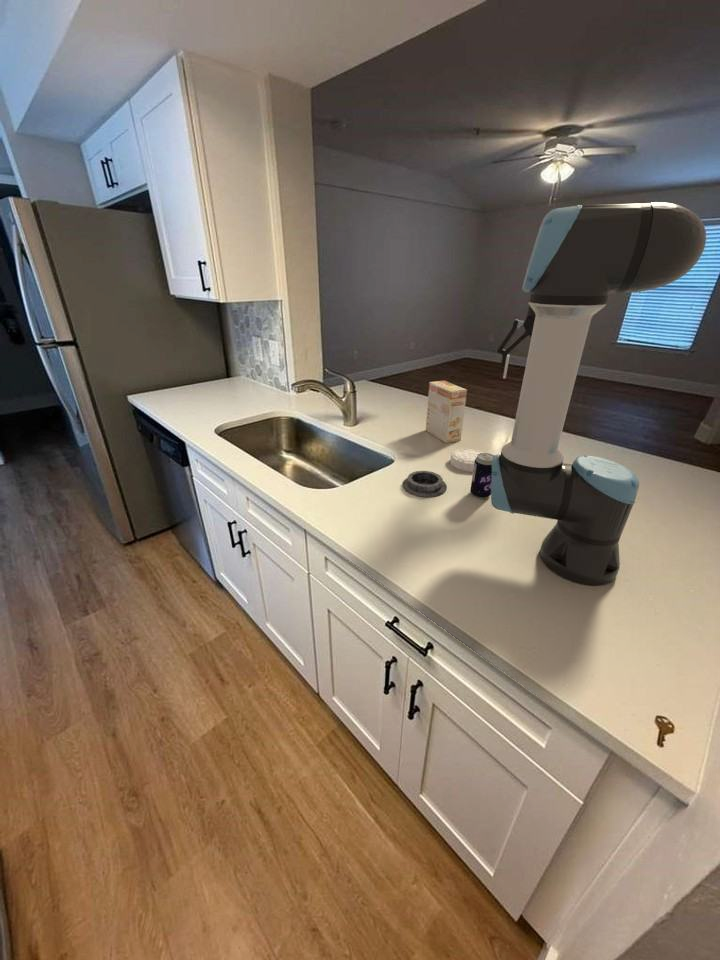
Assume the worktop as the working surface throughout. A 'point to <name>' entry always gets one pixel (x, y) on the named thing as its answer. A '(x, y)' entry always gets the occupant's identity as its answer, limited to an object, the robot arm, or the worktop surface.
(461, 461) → the mooncake
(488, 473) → the beverage can
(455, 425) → the coffeecake box
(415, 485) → the ring collar
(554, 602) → the worktop surface
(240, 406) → the worktop surface
